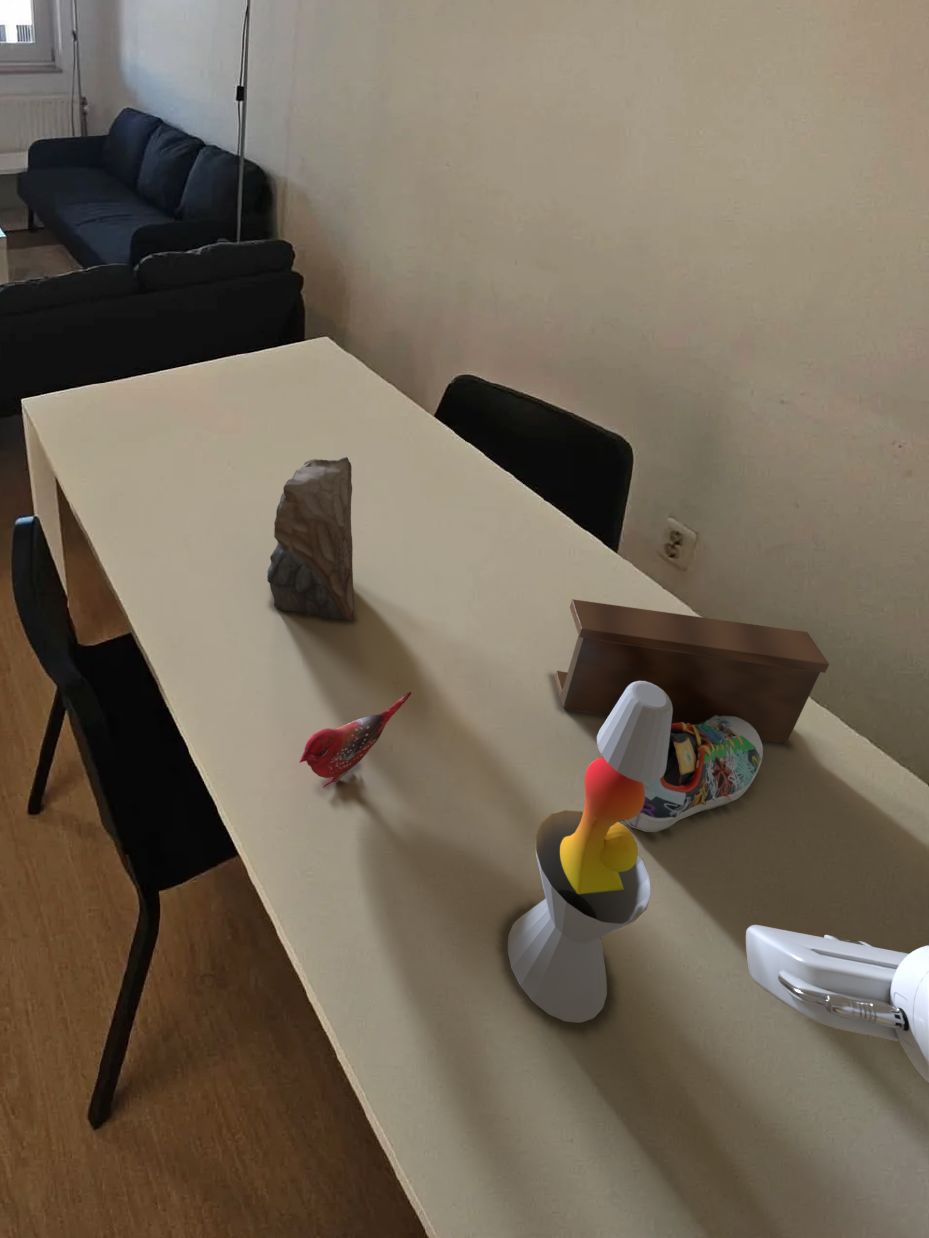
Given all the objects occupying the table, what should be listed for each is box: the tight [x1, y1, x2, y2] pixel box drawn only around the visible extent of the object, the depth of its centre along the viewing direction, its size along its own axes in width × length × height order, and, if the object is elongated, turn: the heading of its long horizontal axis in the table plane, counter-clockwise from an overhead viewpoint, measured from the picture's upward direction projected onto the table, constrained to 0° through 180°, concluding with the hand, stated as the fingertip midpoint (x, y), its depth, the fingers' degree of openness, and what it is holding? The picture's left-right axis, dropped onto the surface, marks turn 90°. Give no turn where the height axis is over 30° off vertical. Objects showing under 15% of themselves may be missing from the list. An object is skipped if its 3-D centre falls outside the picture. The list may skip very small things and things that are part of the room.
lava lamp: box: [507, 681, 673, 1024], centre depth 63 cm, size 9×9×35 cm
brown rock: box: [266, 456, 355, 621], centre depth 110 cm, size 13×13×20 cm
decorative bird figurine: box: [299, 691, 413, 789], centre depth 86 cm, size 3×18×10 cm, turn 126°
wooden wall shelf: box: [554, 598, 830, 745], centre depth 93 cm, size 27×5×13 cm, turn 81°
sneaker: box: [624, 715, 764, 833], centre depth 85 cm, size 8×22×10 cm, turn 116°
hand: (843, 949), depth 62 cm, fingers closed
